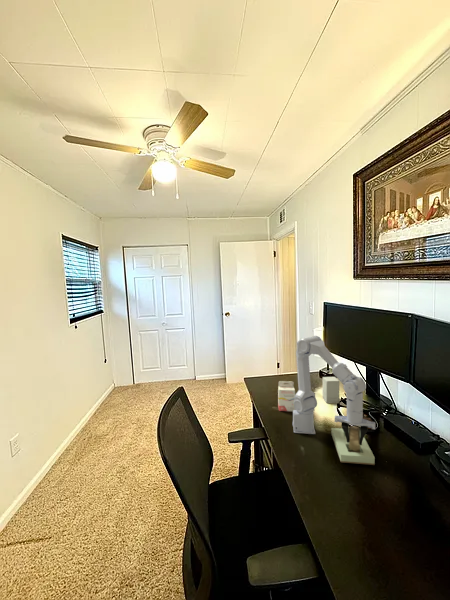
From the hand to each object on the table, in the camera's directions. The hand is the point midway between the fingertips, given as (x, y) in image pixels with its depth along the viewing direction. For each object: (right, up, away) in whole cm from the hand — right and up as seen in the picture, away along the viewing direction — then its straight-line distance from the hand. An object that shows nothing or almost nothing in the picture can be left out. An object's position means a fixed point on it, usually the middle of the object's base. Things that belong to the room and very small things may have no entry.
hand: (354, 442), depth 117 cm
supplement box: (+9, -1, +51) cm, 52 cm away
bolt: (+15, -3, +27) cm, 31 cm away
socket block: (+1, -5, +5) cm, 7 cm away
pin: (0, -2, 0) cm, 2 cm away
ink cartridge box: (-18, -3, +42) cm, 46 cm away
